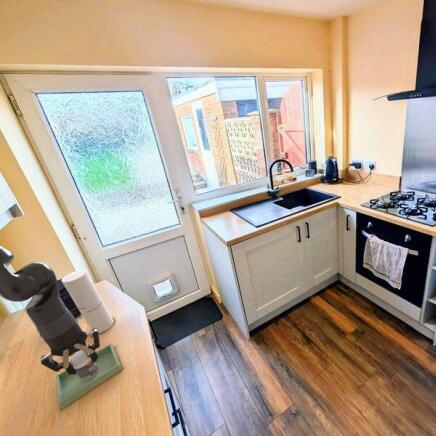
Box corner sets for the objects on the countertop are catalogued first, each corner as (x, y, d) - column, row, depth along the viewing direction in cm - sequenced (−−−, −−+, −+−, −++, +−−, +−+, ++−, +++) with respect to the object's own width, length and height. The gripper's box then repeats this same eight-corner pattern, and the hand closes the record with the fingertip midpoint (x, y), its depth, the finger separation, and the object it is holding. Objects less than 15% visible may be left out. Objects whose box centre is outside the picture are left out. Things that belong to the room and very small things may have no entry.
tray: (62, 408, 70) (58, 403, 69) (59, 380, 79) (55, 375, 78) (122, 369, 80) (119, 364, 79) (113, 348, 88) (110, 343, 87)
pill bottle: (96, 377, 78) (85, 359, 74) (79, 384, 76) (66, 366, 73) (100, 364, 82) (90, 347, 78) (84, 370, 80) (72, 353, 77)
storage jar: (87, 300, 114) (72, 274, 108) (90, 310, 108) (74, 283, 101) (60, 312, 109) (43, 285, 102) (61, 324, 102) (42, 296, 96)
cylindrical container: (99, 320, 101) (70, 271, 91) (117, 317, 102) (90, 268, 92) (88, 335, 95) (56, 283, 85) (107, 332, 95) (77, 280, 85)
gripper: (87, 306, 77) (108, 344, 84) (25, 336, 69) (55, 375, 76) (90, 318, 72) (113, 357, 79) (24, 352, 64) (56, 392, 71)
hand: (84, 366), depth 77 cm, fingers closed on pill bottle, 4 cm apart
